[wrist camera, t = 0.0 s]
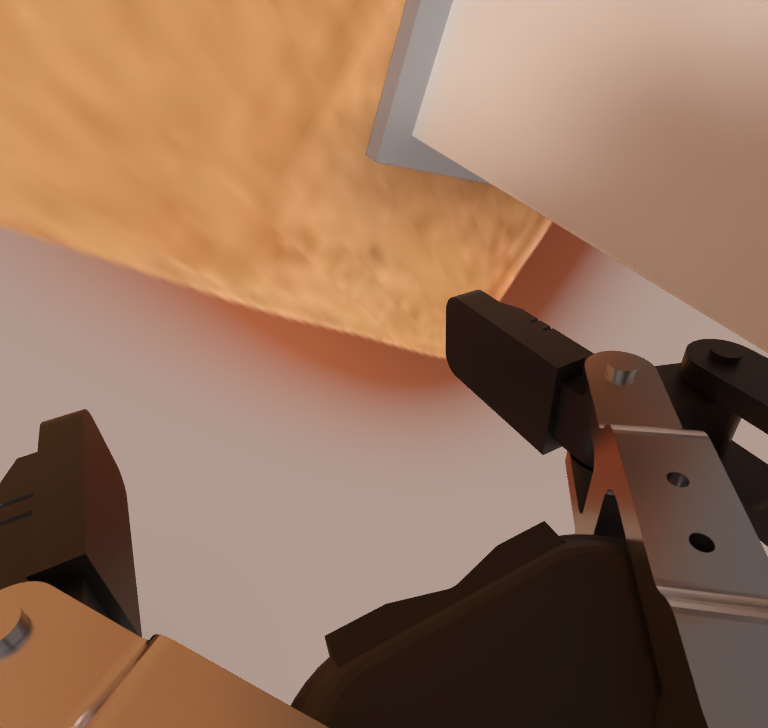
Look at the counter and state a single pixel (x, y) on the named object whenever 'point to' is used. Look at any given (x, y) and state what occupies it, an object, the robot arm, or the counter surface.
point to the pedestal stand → (603, 129)
